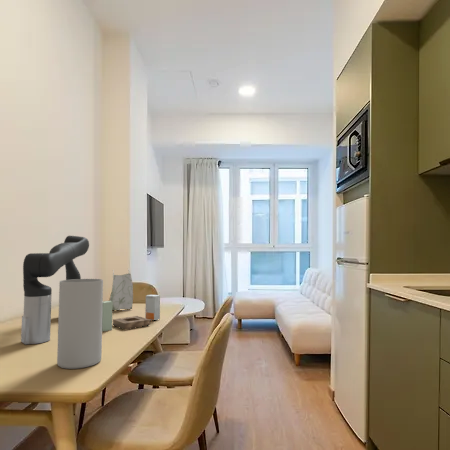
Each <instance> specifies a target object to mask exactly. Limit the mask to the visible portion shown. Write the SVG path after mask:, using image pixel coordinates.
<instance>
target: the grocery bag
mask: <svg viewBox="0 0 450 450" xmlns="http://www.w3.org/2000/svg"><path fill="white" fill-rule="evenodd" d="M127 269H128V273H125V274H121V275H120V274H119V275H118V274H115V270H114V269H113V270H112V271H113V272H112V279H113V280H112V284H111V285H112V287H111V293H110V296H109V301H111V302H113V306H112V310H120V309H132V310H133V303H134V301H133V300H134V289H133V288H134V284H133V279H132V275H131V271H130V268H129V267H128V268H127Z"/></svg>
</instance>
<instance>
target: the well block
mask: <svg viewBox="0 0 450 450" xmlns="http://www.w3.org/2000/svg"><path fill="white" fill-rule="evenodd" d="M150 324H151V320H149V319H146V318H145V317H142V316H140V315H139V316H138V315H133V316H127V317H121V318H120V317H119V318H114V319H113V318H112V326H113V325H114V326H113V327H115V326H117V327H116V328H118V327H120V328H119V329H121V328H123V329H128V330H131V329H130V328H134V329H136V328H135V327H140V328H142V327H141V326H146V327H148V326H147V325H150ZM123 329H122V330H123Z"/></svg>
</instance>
